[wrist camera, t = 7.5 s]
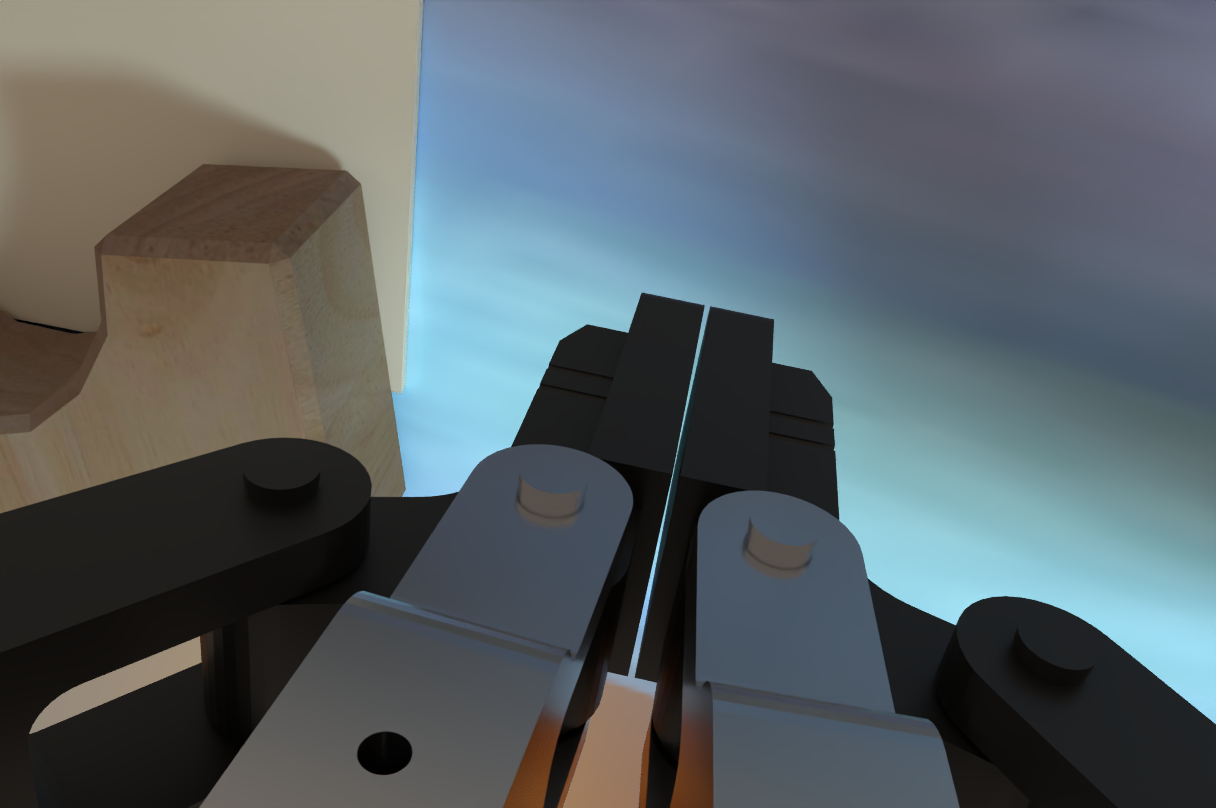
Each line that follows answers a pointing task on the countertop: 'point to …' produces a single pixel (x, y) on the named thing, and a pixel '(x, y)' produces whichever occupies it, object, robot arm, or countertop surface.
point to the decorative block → (208, 339)
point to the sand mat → (196, 127)
